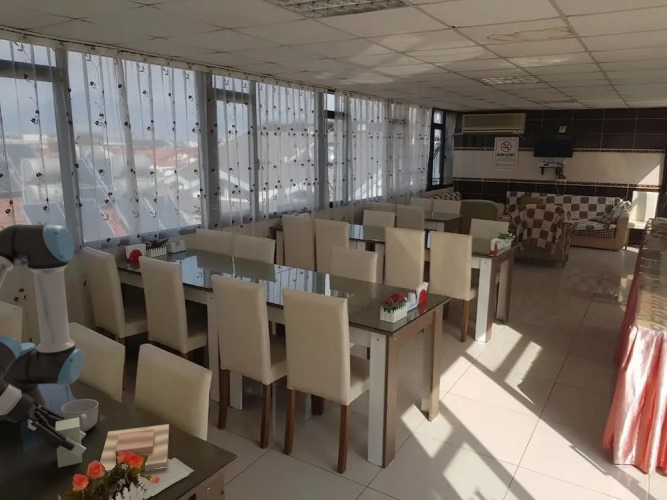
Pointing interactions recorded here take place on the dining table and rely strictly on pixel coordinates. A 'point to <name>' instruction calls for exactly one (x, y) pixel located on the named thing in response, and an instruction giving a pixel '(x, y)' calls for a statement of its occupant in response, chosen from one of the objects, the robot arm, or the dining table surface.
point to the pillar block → (71, 431)
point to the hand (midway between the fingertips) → (82, 445)
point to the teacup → (81, 412)
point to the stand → (138, 445)
